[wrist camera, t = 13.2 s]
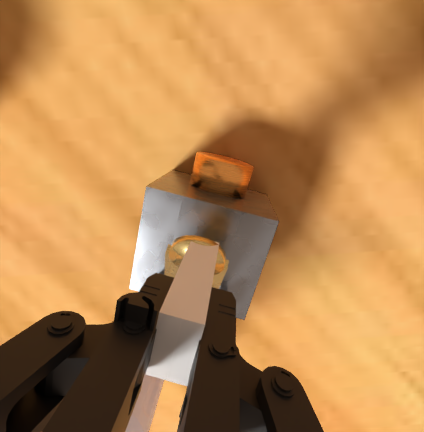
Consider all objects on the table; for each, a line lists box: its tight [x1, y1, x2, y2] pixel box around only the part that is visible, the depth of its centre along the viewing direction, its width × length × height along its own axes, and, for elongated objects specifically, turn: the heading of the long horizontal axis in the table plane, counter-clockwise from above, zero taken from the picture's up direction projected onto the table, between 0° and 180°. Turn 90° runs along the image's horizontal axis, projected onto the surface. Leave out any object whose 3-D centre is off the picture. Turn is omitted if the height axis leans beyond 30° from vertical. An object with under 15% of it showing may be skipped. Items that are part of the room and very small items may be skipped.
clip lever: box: [164, 235, 229, 289], centre depth 17 cm, size 8×4×1 cm
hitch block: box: [129, 170, 279, 320], centre depth 22 cm, size 8×9×10 cm
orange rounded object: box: [190, 152, 254, 197], centre depth 25 cm, size 12×5×5 cm, turn 166°
